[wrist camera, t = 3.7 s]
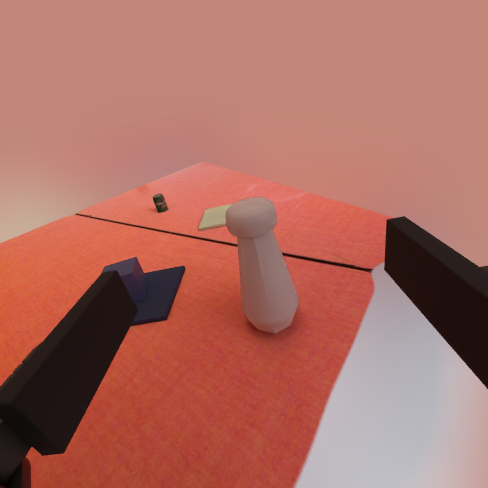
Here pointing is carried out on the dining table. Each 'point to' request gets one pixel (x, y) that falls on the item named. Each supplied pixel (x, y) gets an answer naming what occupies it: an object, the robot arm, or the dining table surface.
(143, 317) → the dark mat
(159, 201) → the beer can
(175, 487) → the dining table surface
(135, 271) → the navy block
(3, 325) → the dining table surface
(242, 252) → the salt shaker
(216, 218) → the light mat
